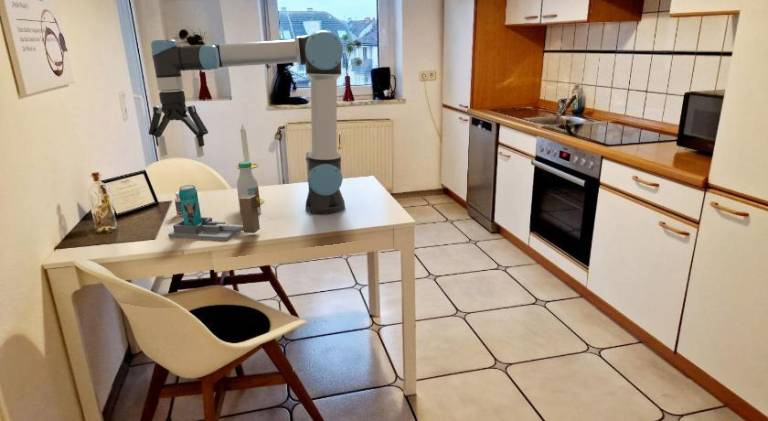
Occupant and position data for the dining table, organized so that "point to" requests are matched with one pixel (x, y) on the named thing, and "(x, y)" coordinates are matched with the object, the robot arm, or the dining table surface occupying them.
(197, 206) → the beverage can
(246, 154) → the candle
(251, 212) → the lock pin
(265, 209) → the dining table surface
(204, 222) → the dock
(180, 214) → the pill bottle
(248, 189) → the milk bottle
